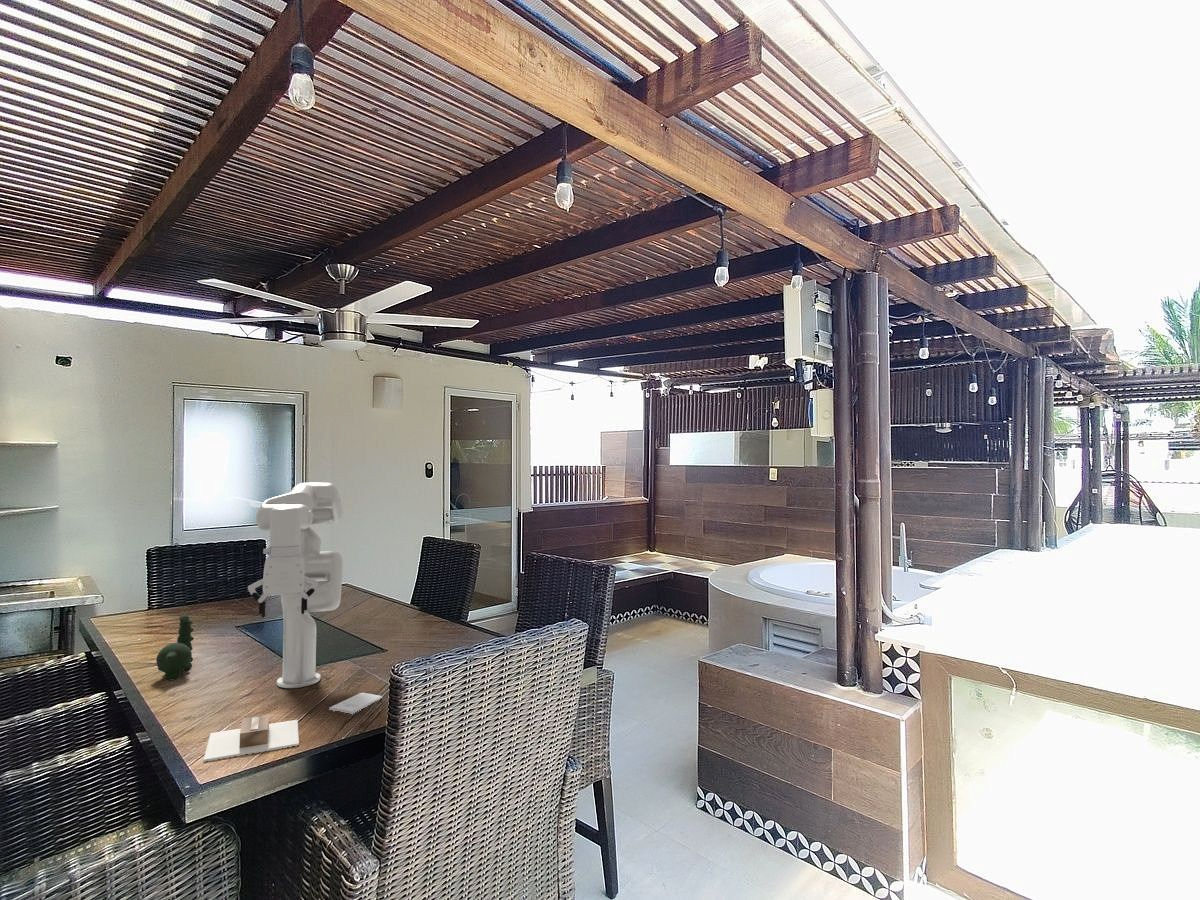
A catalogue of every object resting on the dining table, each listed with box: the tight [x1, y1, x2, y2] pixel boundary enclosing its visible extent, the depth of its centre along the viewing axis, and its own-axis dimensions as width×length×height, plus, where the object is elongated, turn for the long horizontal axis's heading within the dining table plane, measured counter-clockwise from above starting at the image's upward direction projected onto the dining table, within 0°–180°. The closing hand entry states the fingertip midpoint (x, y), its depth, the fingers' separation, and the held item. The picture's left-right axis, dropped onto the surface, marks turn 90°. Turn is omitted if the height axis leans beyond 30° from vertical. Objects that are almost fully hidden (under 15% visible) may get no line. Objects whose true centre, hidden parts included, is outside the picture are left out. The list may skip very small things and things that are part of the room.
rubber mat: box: [203, 719, 300, 763], centre depth 157 cm, size 16×20×1 cm
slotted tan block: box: [239, 714, 270, 748], centre depth 157 cm, size 6×10×4 cm, turn 26°
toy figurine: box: [155, 613, 194, 681], centre depth 207 cm, size 9×19×25 cm
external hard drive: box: [328, 692, 383, 715], centre depth 181 cm, size 2×8×12 cm
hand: (283, 614), depth 171 cm, fingers open, 9 cm apart
